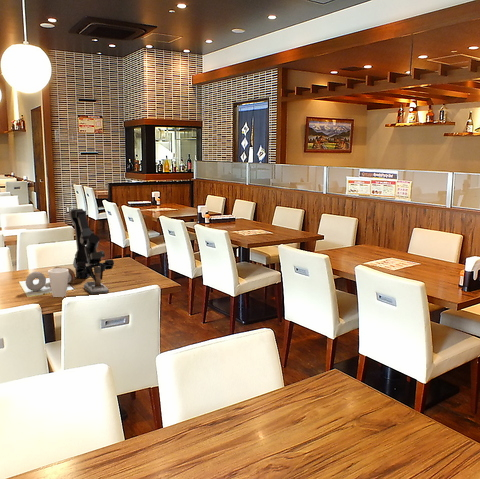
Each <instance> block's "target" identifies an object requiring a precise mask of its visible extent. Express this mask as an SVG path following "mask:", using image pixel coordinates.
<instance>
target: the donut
mask: <svg viewBox="0 0 480 479" xmlns="http://www.w3.org/2000/svg"><path fill="white" fill-rule="evenodd" d="M36 279H38V283H36V284H35V283H34V280H36ZM46 282H47V278H46V276H45V274H43V273H42V272H40V271H33V272H31V273H29V274H28V276H27V277H26V279H25V286H26V287H27V289H29V291H32V292H37V291H38V292H39V291H40V290H42V289H43V288H44V287H45V286H46Z"/></svg>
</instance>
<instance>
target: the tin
mask: <svg viewBox="0 0 480 479" xmlns="http://www.w3.org/2000/svg"><path fill="white" fill-rule="evenodd" d="M56 268H62V267H60V266H56V267H54V268H52V269H56ZM65 268H66V269H68V271H69V275H68V283H67V285H69V284H72V283H74V282H75V280H76V278H75V277H76V272H74V270H72V269H71V268H69V267H65Z"/></svg>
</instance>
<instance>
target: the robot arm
mask: <svg viewBox="0 0 480 479" xmlns="http://www.w3.org/2000/svg"><path fill="white" fill-rule="evenodd" d="M68 216H69V217H68V218H70V221H71V223H72V224H73V225H74V233H75V242H76V252H75V254H74V259H73V262H72V264H73V268H74V269H75V270H74V271H75V279H83V280H84V279H88V278H91V279H92V280H93V281H95V280H96V279H95V275H94V267H95V266H100V267H101V272H100V273H101V281H102V280H103V276H104V272H105V271H107V270H112V269H113V267H114V264H115V261H114V260H113V259H112V258H111V259H105V260H104V262H102V258H105V255H106V254H105V251H104V250H99V251H98V250H97V248H98V246H99V243H100V240H101V239H100V237H99V235H97V234H95V232H94V231H92V230H91V229H90V225H89V222H88V219H87V211H86V210H84V209H83V208H73V209H72V208H71V210H69V211H68Z"/></svg>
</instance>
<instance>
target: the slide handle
mask: <svg viewBox="0 0 480 479" xmlns="http://www.w3.org/2000/svg"><path fill="white" fill-rule="evenodd" d="M93 272H94V275H95V279H96V280H95V285H92V289H93V290H94V288H102V287H104V286H103V285H104V284H103V283H102V280H101V273H100V272H101V267H100V266H95V267H94V268H93ZM101 283H102V284H103V285H102V284H101Z"/></svg>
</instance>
